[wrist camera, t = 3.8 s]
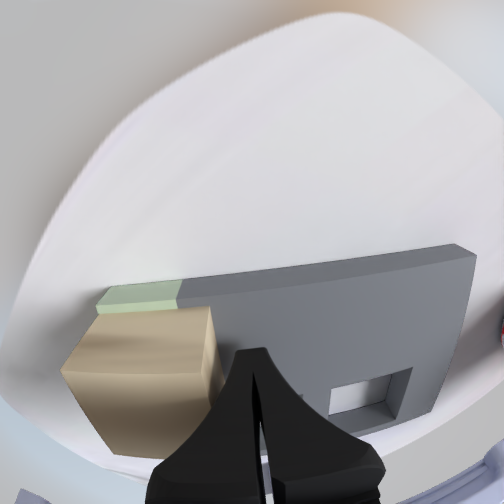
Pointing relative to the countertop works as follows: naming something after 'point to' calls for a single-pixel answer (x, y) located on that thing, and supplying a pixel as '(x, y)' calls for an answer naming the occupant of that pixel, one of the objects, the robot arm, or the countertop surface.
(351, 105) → the countertop surface
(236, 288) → the board
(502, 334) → the soda can
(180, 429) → the maple block
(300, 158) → the countertop surface
